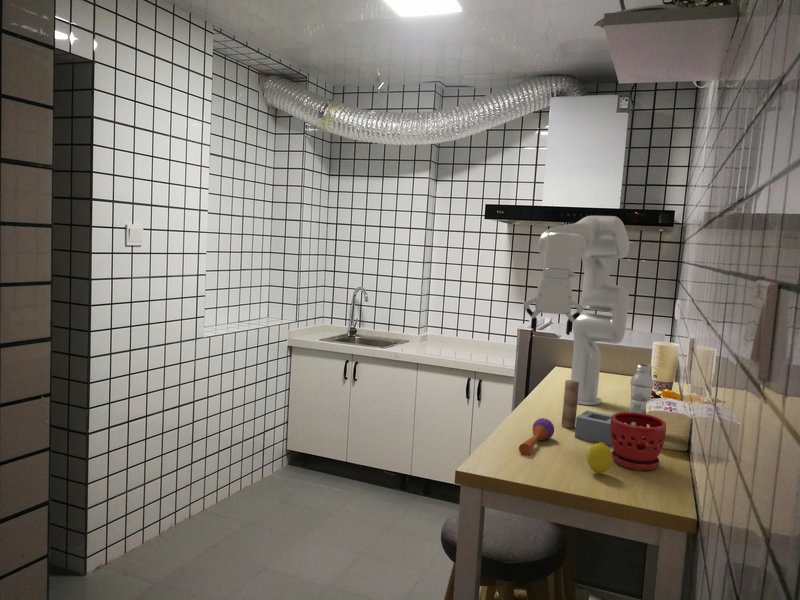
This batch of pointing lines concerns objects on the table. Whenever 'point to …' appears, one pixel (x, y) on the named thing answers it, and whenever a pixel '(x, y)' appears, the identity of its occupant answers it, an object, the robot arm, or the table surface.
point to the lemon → (599, 458)
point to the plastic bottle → (640, 390)
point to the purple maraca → (537, 435)
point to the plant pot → (637, 440)
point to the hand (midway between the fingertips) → (550, 332)
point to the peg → (570, 404)
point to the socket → (593, 427)
